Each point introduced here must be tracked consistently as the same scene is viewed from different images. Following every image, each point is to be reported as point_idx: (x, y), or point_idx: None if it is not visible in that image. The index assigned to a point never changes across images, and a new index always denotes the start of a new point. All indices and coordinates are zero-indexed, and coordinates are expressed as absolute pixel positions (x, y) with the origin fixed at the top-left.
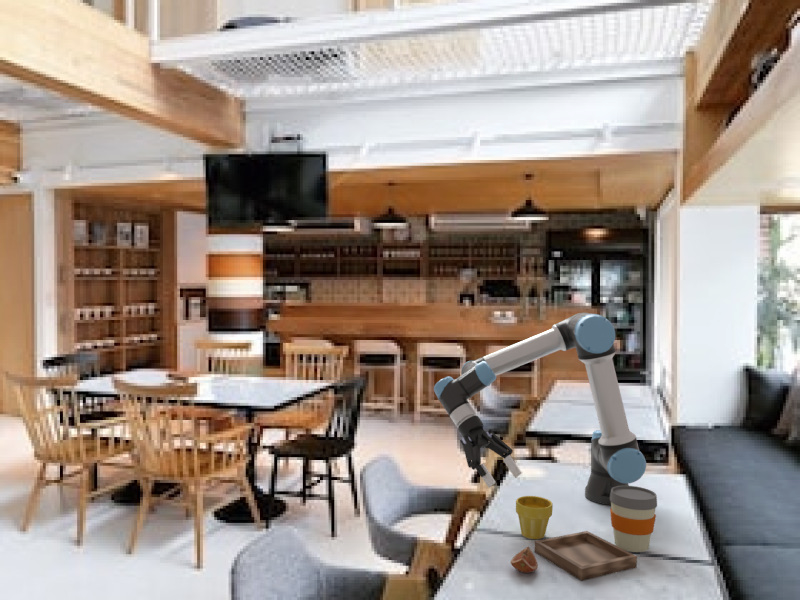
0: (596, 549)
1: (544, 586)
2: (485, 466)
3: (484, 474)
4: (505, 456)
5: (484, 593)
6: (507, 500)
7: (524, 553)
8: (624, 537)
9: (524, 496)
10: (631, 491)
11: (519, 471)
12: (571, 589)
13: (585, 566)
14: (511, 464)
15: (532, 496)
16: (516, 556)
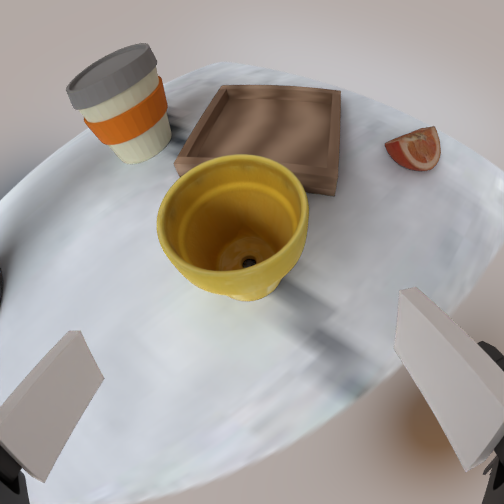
0: (221, 137)
1: (403, 124)
2: (487, 381)
3: (482, 342)
4: (9, 469)
5: (487, 160)
6: (90, 478)
7: (417, 136)
8: (166, 117)
9: (203, 270)
10: (88, 80)
11: (72, 337)
12: (371, 104)
13: (328, 91)
14: (47, 404)
15: (173, 254)
16: (424, 156)
